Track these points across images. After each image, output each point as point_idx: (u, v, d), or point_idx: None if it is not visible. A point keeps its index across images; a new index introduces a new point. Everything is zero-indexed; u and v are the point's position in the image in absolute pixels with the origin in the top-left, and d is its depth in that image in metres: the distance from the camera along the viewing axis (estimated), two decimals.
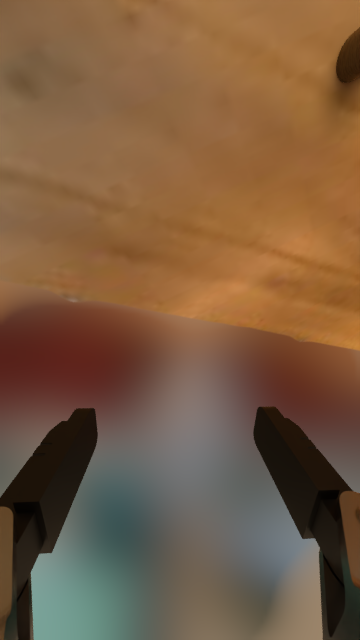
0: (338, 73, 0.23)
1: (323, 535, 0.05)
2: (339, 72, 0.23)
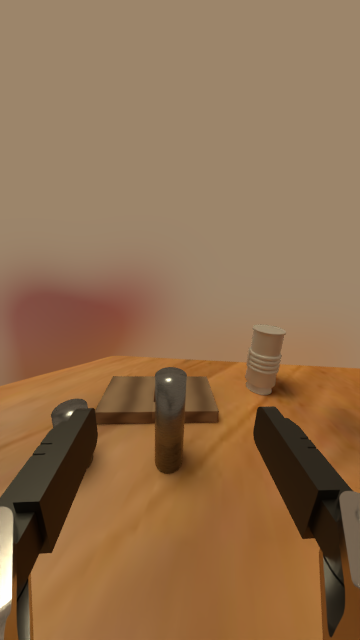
0: (169, 472, 0.25)
1: (323, 535, 0.05)
2: (169, 471, 0.25)
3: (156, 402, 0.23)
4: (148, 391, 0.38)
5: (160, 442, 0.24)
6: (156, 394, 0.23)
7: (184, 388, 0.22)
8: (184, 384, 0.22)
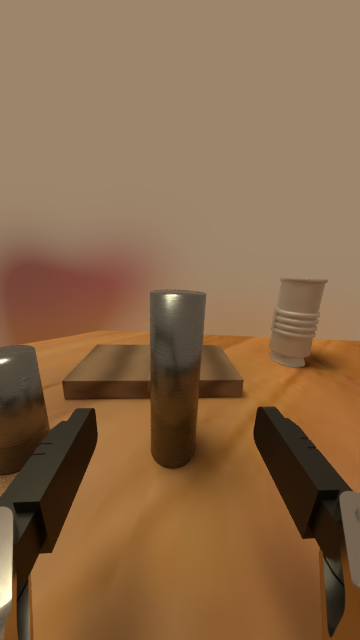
0: (175, 466, 0.15)
1: (323, 535, 0.05)
2: (175, 464, 0.15)
3: (152, 339, 0.13)
4: (143, 358, 0.27)
5: (159, 413, 0.14)
6: (152, 324, 0.13)
7: (202, 312, 0.12)
8: (203, 303, 0.12)
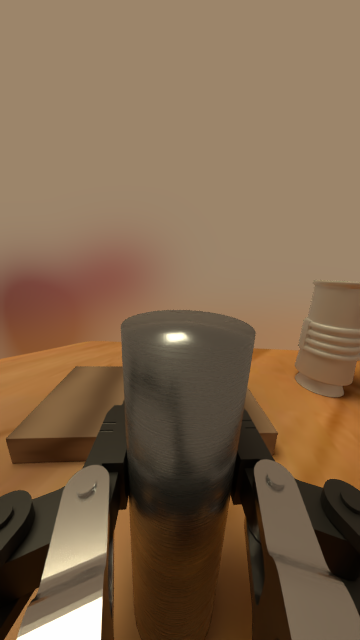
0: None
1: (245, 498, 0.06)
2: None
3: (127, 433, 0.06)
4: None
5: (146, 579, 0.06)
6: (126, 400, 0.05)
7: (248, 374, 0.05)
8: (251, 355, 0.05)
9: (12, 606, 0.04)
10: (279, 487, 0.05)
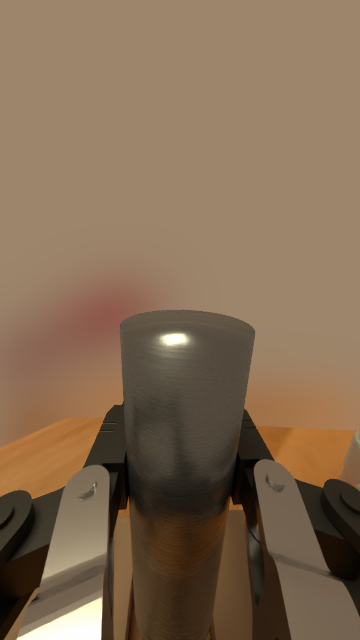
0: None
1: (244, 498, 0.06)
2: None
3: (127, 434, 0.06)
4: None
5: (146, 580, 0.06)
6: (125, 401, 0.05)
7: (248, 374, 0.05)
8: (251, 355, 0.05)
9: (12, 606, 0.04)
10: (279, 487, 0.05)
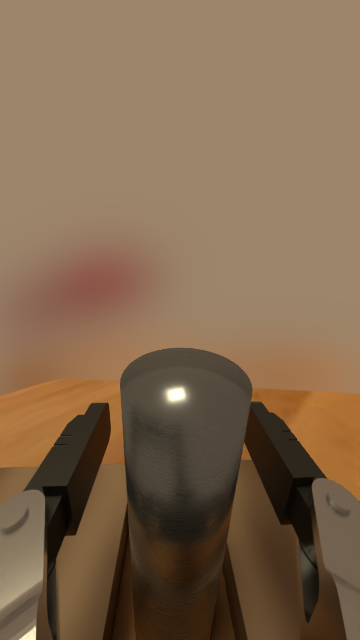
0: None
1: (297, 520, 0.06)
2: None
3: (127, 483, 0.06)
4: (89, 574, 0.09)
5: (146, 614, 0.07)
6: (126, 453, 0.05)
7: (245, 430, 0.05)
8: (248, 414, 0.05)
9: None
10: (346, 512, 0.05)
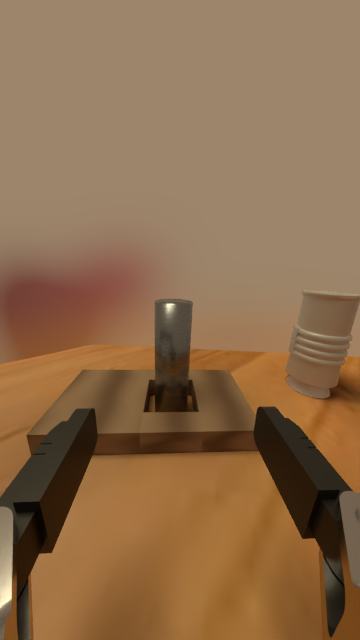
0: None
1: (323, 535, 0.05)
2: None
3: (156, 333, 0.19)
4: (136, 392, 0.22)
5: (161, 384, 0.20)
6: (156, 323, 0.19)
7: (190, 315, 0.19)
8: (190, 309, 0.18)
9: None
10: None
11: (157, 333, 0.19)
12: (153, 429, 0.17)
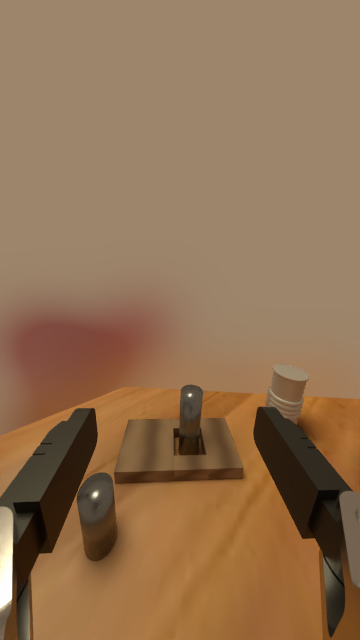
0: None
1: (323, 535, 0.05)
2: None
3: (181, 410, 0.33)
4: (167, 440, 0.36)
5: (184, 438, 0.34)
6: (182, 404, 0.33)
7: (201, 400, 0.33)
8: (201, 397, 0.32)
9: None
10: None
11: (182, 410, 0.33)
12: (181, 467, 0.31)
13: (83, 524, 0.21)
